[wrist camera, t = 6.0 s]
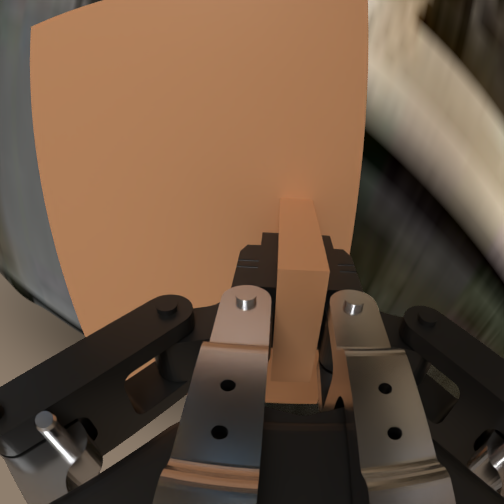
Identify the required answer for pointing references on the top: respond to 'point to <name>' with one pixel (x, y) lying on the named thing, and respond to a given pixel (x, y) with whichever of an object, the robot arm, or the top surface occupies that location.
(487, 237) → the top surface
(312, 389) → the snap lid
